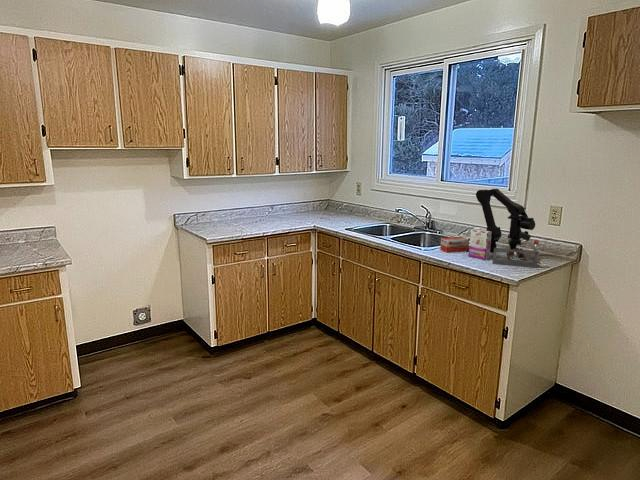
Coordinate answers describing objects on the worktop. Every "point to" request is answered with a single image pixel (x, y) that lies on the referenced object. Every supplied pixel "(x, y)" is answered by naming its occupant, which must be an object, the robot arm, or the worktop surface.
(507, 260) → the press bed
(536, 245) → the handle
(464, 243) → the medicine box
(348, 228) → the worktop surface
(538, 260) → the ram track
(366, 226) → the worktop surface
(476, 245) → the candy bar box
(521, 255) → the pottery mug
